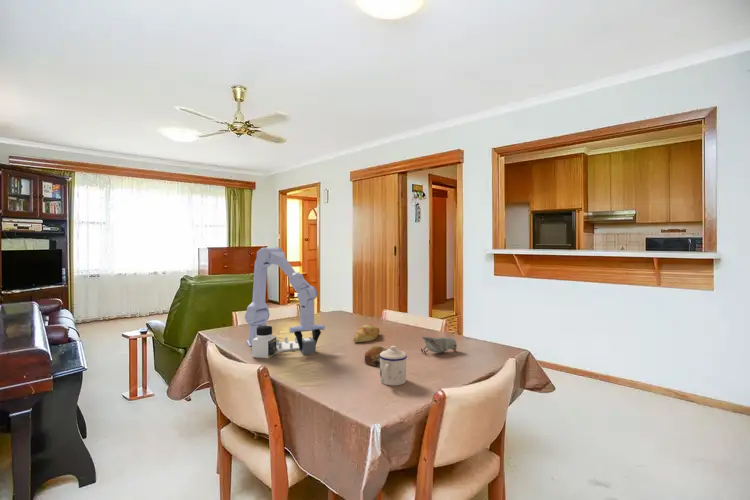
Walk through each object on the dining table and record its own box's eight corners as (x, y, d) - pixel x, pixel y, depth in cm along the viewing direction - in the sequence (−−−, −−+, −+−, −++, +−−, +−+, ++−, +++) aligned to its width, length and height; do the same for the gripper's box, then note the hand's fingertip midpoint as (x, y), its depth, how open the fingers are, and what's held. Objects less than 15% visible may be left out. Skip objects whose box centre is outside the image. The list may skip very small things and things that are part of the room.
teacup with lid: (385, 374, 136) (385, 341, 136) (410, 378, 133) (410, 344, 132) (371, 387, 125) (371, 350, 125) (398, 391, 121) (398, 354, 121)
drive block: (299, 350, 165) (299, 338, 165) (310, 349, 167) (310, 337, 167) (303, 355, 159) (303, 342, 158) (315, 353, 161) (315, 341, 161)
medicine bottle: (268, 358, 154) (268, 328, 153) (251, 357, 155) (251, 327, 155) (276, 353, 161) (276, 324, 160) (260, 352, 162) (260, 323, 162)
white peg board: (273, 344, 173) (273, 338, 173) (297, 342, 178) (297, 336, 178) (278, 352, 162) (278, 345, 162) (304, 349, 167) (304, 342, 167)
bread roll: (391, 370, 152) (394, 349, 155) (384, 366, 143) (387, 344, 146) (367, 367, 155) (370, 347, 158) (359, 363, 146) (362, 342, 149)
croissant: (359, 352, 175) (366, 337, 173) (343, 339, 179) (349, 324, 177) (382, 340, 193) (389, 327, 191) (366, 329, 197) (373, 315, 195)
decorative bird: (459, 353, 163) (459, 335, 163) (424, 356, 157) (424, 338, 157) (452, 349, 168) (452, 332, 168) (418, 353, 162) (418, 335, 162)
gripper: (292, 319, 156) (292, 353, 156) (327, 316, 162) (327, 349, 162) (288, 315, 162) (288, 348, 163) (322, 313, 168) (322, 344, 169)
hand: (307, 348), depth 163 cm, fingers closed on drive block, 5 cm apart
